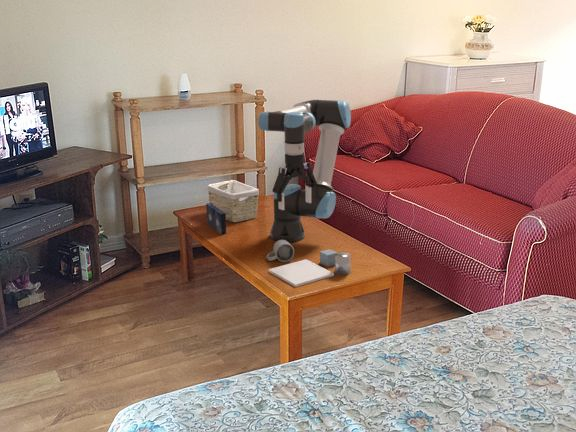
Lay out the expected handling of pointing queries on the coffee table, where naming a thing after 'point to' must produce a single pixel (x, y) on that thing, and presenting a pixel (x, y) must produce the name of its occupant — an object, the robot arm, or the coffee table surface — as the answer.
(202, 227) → the coffee table surface
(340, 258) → the metal tin
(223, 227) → the vhs cassette tape
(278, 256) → the ceramic mug
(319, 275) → the white thin square slab
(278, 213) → the robot arm
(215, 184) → the storage basket
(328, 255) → the slate block
